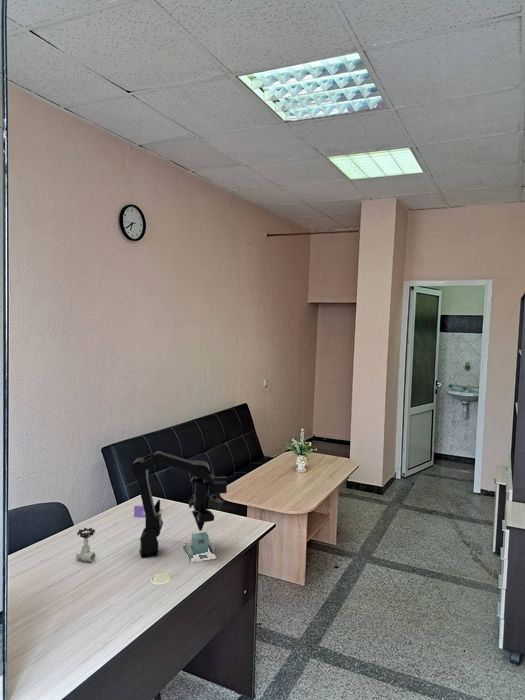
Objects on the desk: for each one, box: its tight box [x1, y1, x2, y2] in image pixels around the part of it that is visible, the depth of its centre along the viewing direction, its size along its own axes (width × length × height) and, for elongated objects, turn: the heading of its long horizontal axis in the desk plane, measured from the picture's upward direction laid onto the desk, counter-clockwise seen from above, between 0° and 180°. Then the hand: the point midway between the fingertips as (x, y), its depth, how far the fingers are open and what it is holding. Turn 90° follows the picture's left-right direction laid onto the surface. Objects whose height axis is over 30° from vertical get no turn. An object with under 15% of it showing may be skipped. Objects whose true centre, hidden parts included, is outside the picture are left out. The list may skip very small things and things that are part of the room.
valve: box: [75, 527, 97, 563], centre depth 186 cm, size 7×7×12 cm
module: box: [191, 531, 210, 555], centre depth 195 cm, size 6×4×7 cm
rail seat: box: [182, 539, 216, 562], centre depth 195 cm, size 11×14×3 cm
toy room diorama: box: [133, 499, 161, 518], centre depth 232 cm, size 12×12×7 cm
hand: (200, 530), depth 195 cm, fingers closed
